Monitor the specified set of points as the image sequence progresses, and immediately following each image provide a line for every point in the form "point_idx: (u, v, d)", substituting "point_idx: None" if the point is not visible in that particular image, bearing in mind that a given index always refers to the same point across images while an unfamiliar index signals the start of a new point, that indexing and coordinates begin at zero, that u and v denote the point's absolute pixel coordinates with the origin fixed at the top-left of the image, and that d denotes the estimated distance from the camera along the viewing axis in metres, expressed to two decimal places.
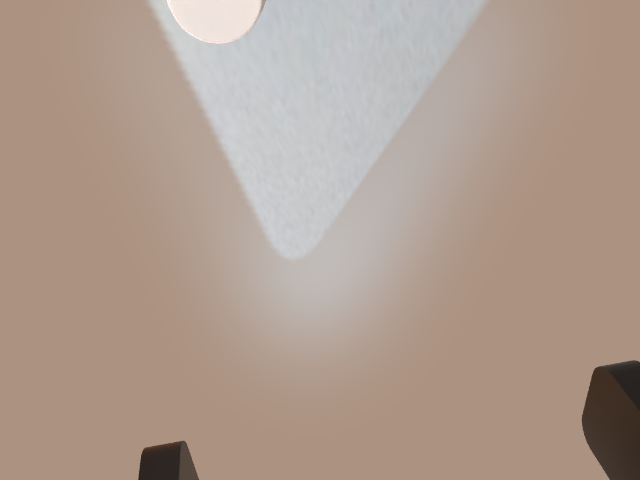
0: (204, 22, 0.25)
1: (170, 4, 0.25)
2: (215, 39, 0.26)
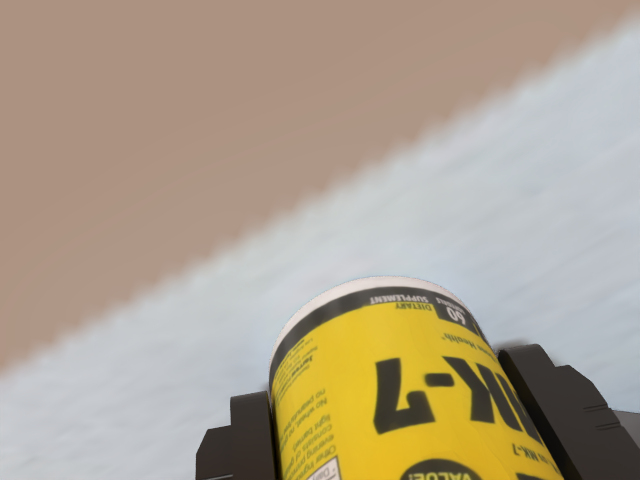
0: None
1: None
2: None
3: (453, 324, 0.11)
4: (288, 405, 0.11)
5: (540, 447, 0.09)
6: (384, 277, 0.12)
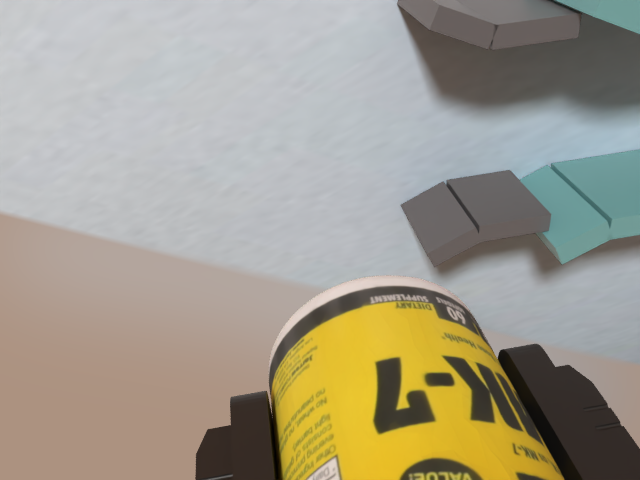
0: None
1: None
2: None
3: (453, 325, 0.11)
4: (288, 405, 0.11)
5: (540, 447, 0.09)
6: (384, 277, 0.12)
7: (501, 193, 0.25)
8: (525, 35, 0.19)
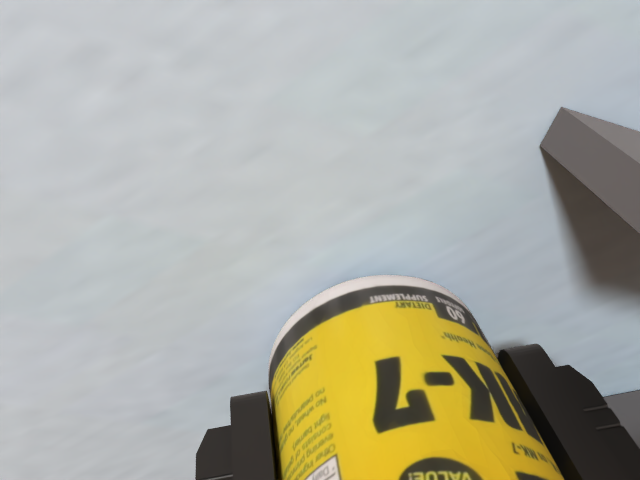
0: None
1: None
2: None
3: (453, 323, 0.11)
4: (288, 404, 0.11)
5: (539, 446, 0.09)
6: (384, 276, 0.12)
7: None
8: None
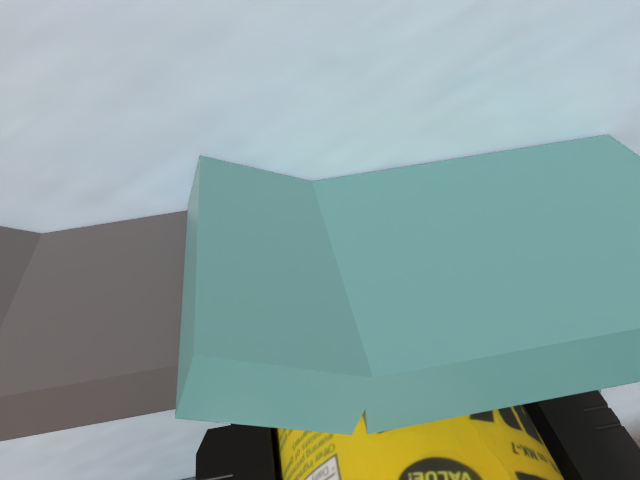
0: None
1: None
2: None
3: None
4: None
5: (539, 446, 0.09)
6: None
7: None
8: (62, 412, 0.08)
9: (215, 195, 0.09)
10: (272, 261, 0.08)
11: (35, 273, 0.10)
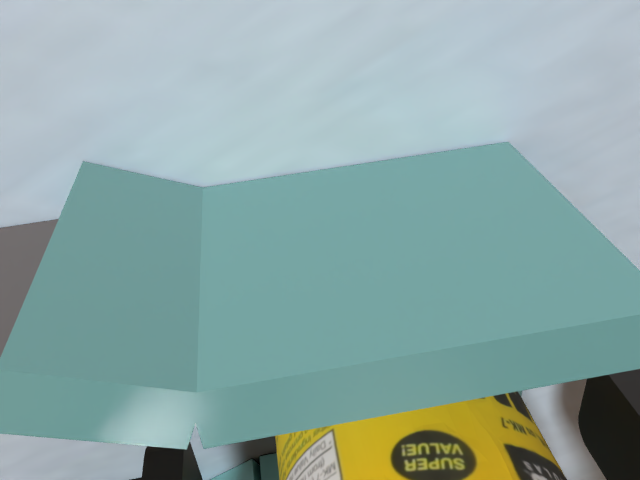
0: None
1: None
2: None
3: None
4: None
5: (528, 422, 0.10)
6: None
7: None
8: None
9: (85, 202, 0.09)
10: (125, 270, 0.08)
11: None
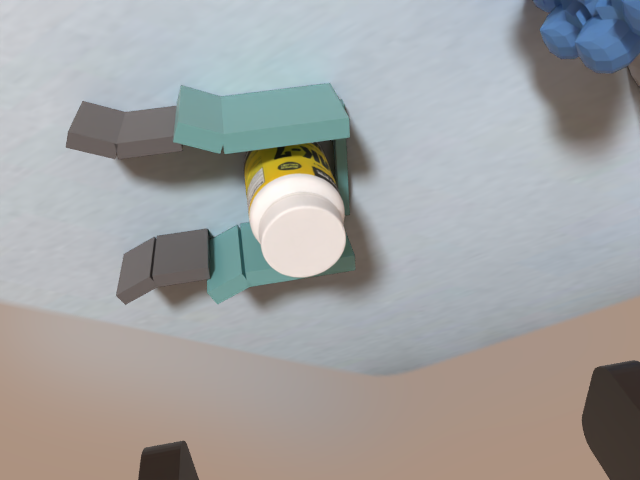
0: (279, 238, 0.27)
1: (292, 210, 0.26)
2: (265, 248, 0.27)
3: None
4: (249, 165, 0.31)
5: (326, 168, 0.30)
6: None
7: (186, 248, 0.34)
8: (141, 150, 0.28)
9: (185, 95, 0.29)
10: (201, 111, 0.28)
11: (126, 121, 0.30)
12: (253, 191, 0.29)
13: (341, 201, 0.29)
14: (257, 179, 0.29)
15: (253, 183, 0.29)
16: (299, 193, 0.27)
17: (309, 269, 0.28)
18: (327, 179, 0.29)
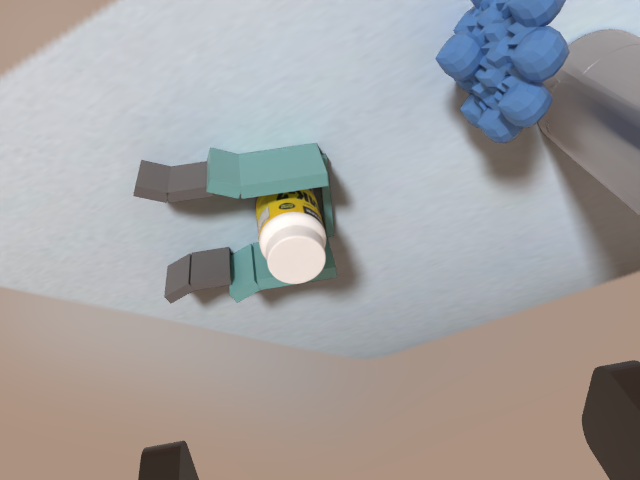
0: (279, 257, 0.39)
1: (287, 239, 0.38)
2: (270, 264, 0.39)
3: None
4: (259, 203, 0.44)
5: (313, 206, 0.42)
6: None
7: (214, 262, 0.46)
8: (184, 196, 0.40)
9: (213, 156, 0.42)
10: (225, 168, 0.41)
11: (172, 174, 0.42)
12: (261, 223, 0.41)
13: (323, 230, 0.41)
14: (264, 215, 0.41)
15: (261, 217, 0.42)
16: (293, 226, 0.39)
17: (301, 278, 0.40)
18: (313, 215, 0.41)
